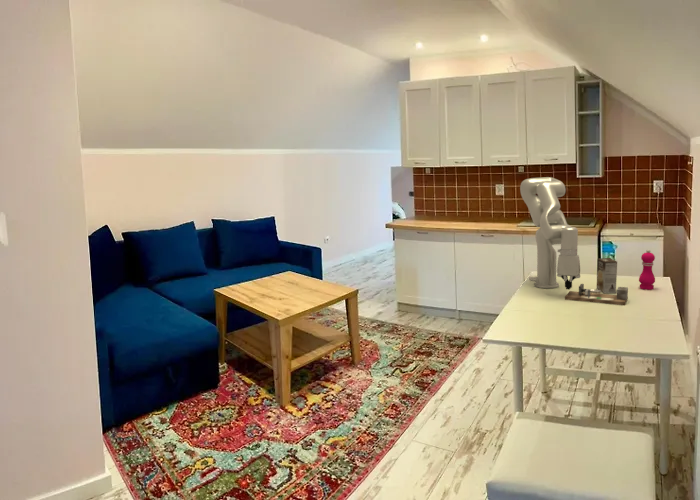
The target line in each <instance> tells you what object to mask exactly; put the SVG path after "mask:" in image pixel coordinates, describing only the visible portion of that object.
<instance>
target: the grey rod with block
mask: <svg viewBox="0 0 700 500" xmlns="http://www.w3.org/2000/svg"><path fill="white" fill-rule="evenodd" d="M584 287H585V285H584V283H580V284H579V285H578V292H579V295H582V293H583V292H585V295H587V294H588V289H589V288H584ZM590 290H591V291H590V293H597V294H602V292H601V290H598V289H591V288H590Z"/></svg>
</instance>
